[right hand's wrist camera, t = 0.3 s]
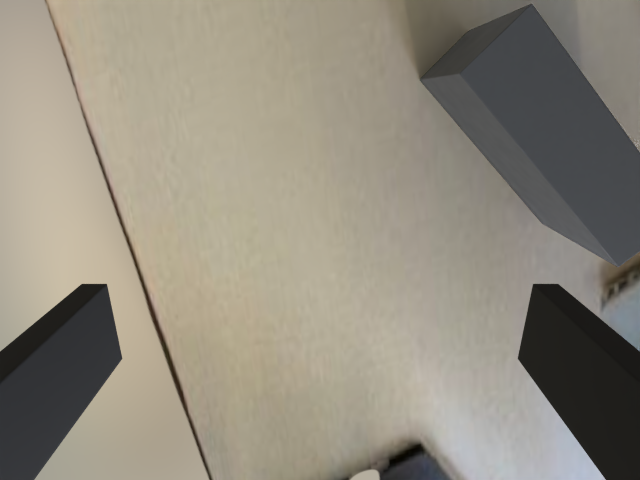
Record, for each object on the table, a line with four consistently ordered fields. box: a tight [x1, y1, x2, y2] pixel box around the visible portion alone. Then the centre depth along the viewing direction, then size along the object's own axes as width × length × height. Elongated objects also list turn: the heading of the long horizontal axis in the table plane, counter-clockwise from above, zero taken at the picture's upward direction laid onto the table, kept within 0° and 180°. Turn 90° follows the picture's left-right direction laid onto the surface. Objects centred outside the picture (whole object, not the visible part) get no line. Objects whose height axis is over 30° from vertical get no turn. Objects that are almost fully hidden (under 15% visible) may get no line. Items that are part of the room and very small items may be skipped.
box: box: [420, 4, 640, 267], centre depth 37 cm, size 21×6×12 cm, turn 45°
